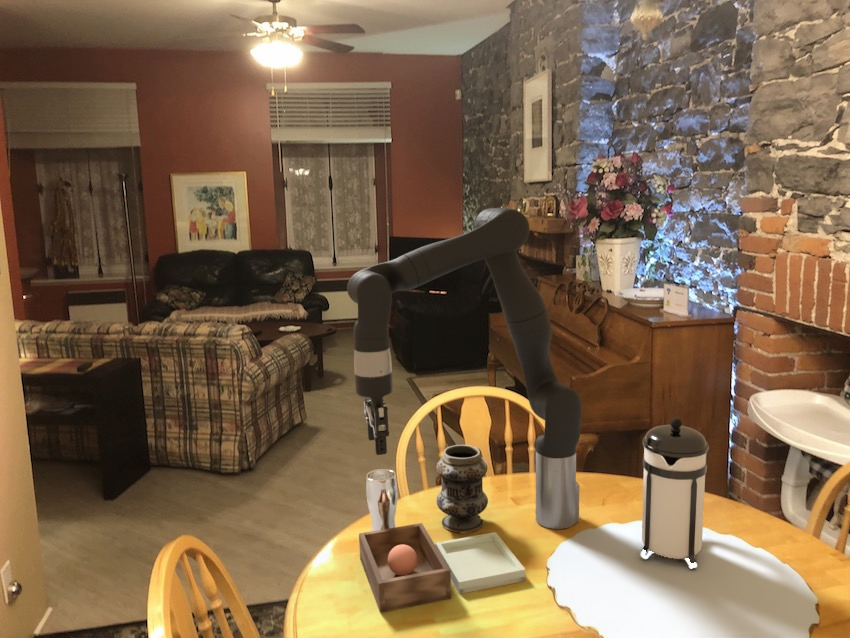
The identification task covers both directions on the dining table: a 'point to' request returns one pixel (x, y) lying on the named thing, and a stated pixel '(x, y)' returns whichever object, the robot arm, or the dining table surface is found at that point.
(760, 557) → the dining table surface
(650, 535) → the coffee press
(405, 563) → the ball
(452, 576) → the tray
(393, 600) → the crate
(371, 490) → the beer glass
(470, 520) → the apothecary jar
